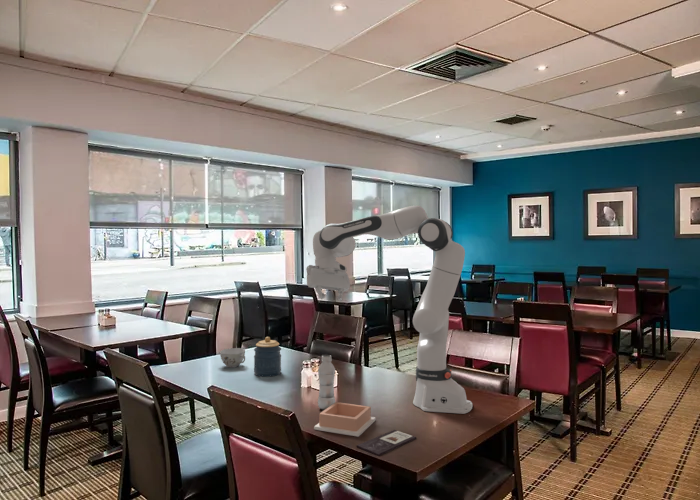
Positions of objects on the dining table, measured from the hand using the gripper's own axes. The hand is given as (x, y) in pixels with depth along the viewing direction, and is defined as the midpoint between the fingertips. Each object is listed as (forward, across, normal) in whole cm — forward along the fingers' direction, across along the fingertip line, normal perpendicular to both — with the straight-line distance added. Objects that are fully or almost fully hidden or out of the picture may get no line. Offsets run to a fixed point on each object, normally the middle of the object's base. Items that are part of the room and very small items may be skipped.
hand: (331, 299), depth 198 cm
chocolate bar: (+58, -8, -26) cm, 64 cm away
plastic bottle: (+42, -4, +8) cm, 42 cm away
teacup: (+8, -1, +82) cm, 82 cm away
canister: (+16, +5, +61) cm, 63 cm away
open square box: (+49, -8, -8) cm, 50 cm away
